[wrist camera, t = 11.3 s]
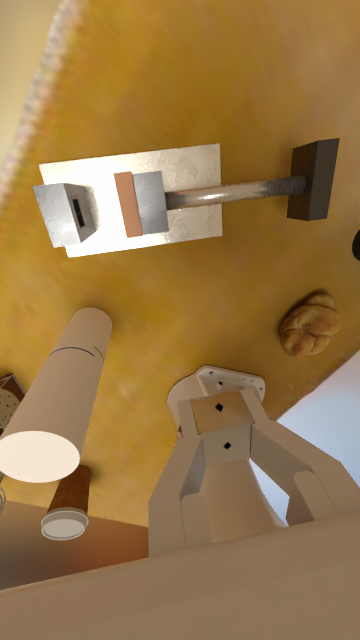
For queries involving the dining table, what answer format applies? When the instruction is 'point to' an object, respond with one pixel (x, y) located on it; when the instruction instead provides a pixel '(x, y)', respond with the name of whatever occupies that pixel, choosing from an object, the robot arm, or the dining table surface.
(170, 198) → the shaft
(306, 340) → the bread roll
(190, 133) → the dining table surface
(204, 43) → the dining table surface
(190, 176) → the shaft frame
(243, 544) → the robot arm
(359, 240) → the wine bottle
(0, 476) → the french press
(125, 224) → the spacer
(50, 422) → the cylindrical container
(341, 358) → the dining table surface
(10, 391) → the food container
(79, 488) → the disposable coffee cup
